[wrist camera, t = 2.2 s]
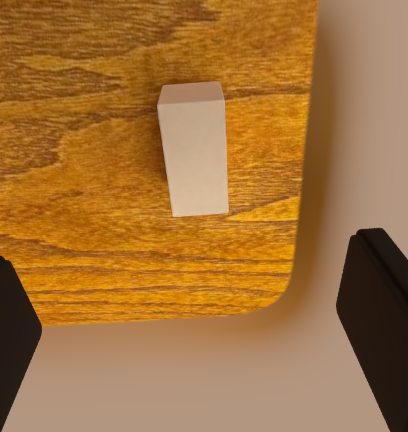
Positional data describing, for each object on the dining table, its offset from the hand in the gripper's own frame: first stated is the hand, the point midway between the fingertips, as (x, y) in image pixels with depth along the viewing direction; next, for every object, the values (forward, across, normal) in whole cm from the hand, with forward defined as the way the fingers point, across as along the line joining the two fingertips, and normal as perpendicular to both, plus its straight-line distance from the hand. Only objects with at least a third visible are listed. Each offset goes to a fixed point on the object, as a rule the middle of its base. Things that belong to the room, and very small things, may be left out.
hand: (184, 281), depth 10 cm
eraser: (+12, 0, 0) cm, 12 cm away
